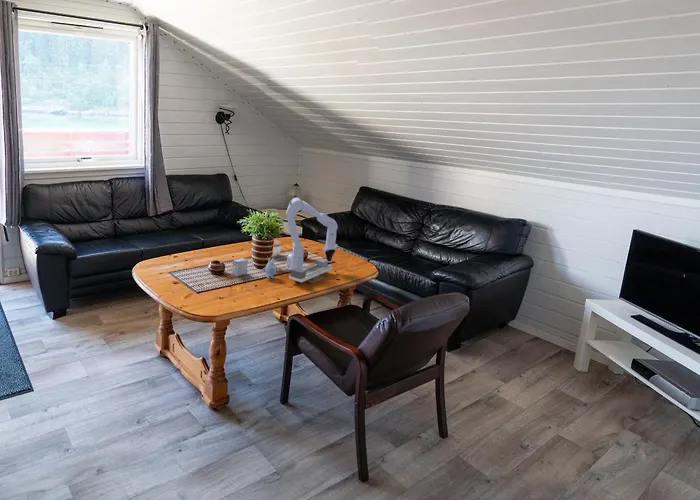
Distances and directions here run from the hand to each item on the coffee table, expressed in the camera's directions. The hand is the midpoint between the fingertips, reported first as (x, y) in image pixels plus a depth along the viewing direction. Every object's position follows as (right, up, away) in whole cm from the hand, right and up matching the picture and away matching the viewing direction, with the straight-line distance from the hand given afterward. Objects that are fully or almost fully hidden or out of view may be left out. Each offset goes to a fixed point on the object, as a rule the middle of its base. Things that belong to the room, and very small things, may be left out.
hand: (328, 260), depth 317 cm
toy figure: (-33, -10, -20) cm, 40 cm away
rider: (-4, -3, -6) cm, 8 cm away
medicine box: (-51, -7, -19) cm, 55 cm away
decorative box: (-39, +3, +20) cm, 44 cm away
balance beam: (-10, -10, -14) cm, 20 cm away
